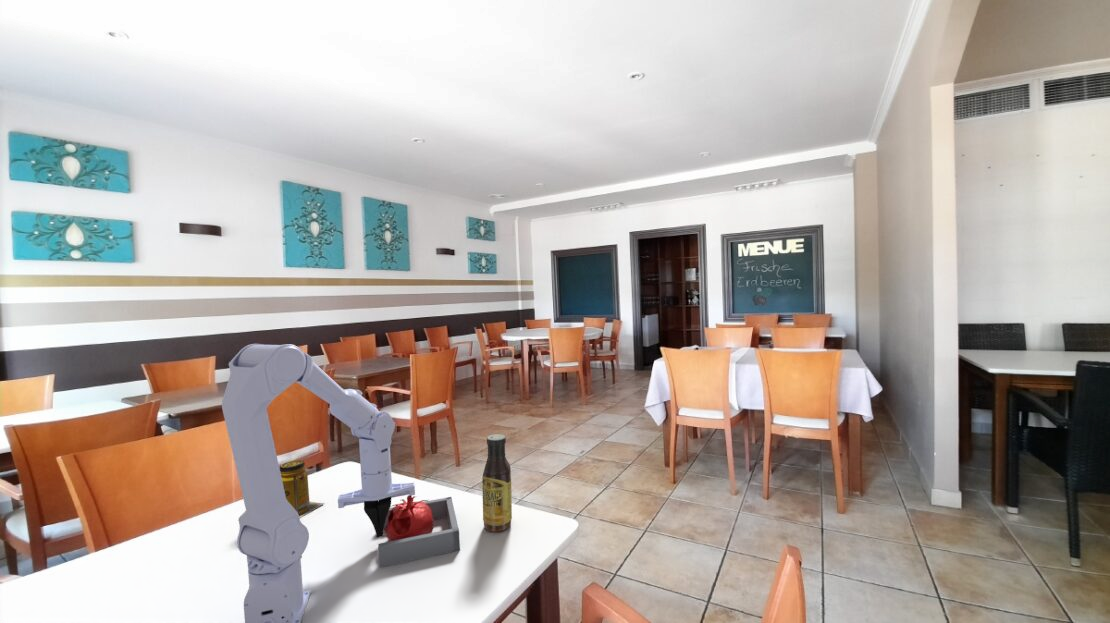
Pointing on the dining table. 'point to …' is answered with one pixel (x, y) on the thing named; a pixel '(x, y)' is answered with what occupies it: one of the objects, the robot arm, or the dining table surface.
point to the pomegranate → (409, 520)
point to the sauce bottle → (497, 486)
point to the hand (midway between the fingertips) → (380, 534)
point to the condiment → (297, 487)
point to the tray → (423, 538)
